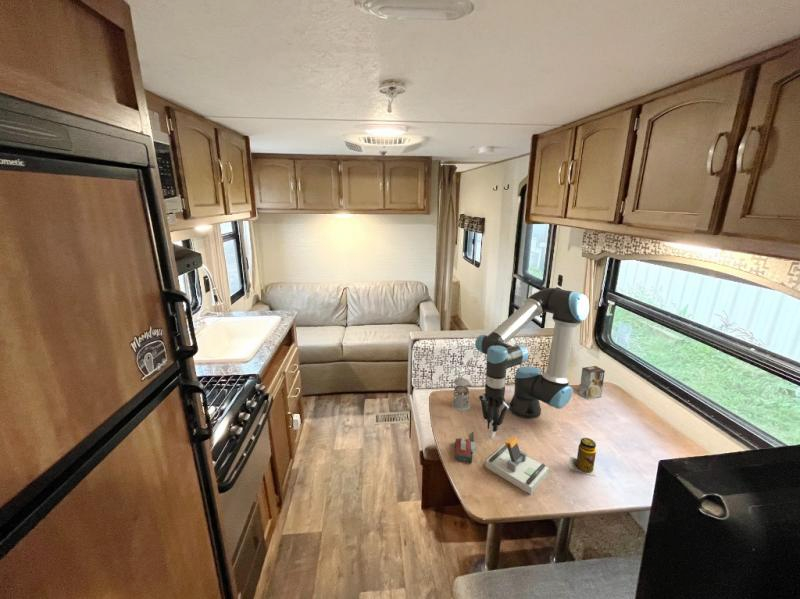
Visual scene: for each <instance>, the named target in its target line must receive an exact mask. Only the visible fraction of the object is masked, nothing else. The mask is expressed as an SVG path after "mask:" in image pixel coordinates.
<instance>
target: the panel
mask: <svg viewBox="0 0 800 599" xmlns="http://www.w3.org/2000/svg"><path fill="white" fill-rule="evenodd" d="M520 454H521V455H522V456H523V460H522V461H521V462H520V463H519V464H518V465H517V464H516V463H514V462H512V461H511V458H510V455H509V451H508V448H507V447H506V445H505V444H503V445H502V446H500V448H498V449H497V450H496V451H494V453H493V454H491V455H490V457H488V458H487V459H486V460H485V468H486V469H488V470H490V471H491V472H493V473H494V474H496V475H498V476H499V477H501V478H503V479H504V480H506V481H508V482H509V483H511V484H513V485H514V486H515V487H516V486H517V488H519V489H521V490H523V491H525V493H528V494H529V495H532V494H533V493H534V492H535V490H536V489H537V488H538V487H539V486H540V484H541V483H542V482H543V481H544V480H545V479H546V477H547V476H548V475H549V469H550V468H549V467H548V466H546V465H545V463H540V462H538V461H536V460H535V459H534V458H533V459H532V458H531V457H529V456H527V455H528V454H527V453H525V452H523V451H522V450H520ZM516 465H517V466H516Z"/></svg>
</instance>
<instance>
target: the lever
mask: <svg viewBox="0 0 800 599" xmlns="http://www.w3.org/2000/svg"><path fill="white" fill-rule="evenodd" d="M518 443H519V441H518V437H517V436H510V437H508V439H507V440H506V441H504V445H506V447H507V448H508V451H509V455H510V458H511V461H512V462H514V463H516V464H517V465H518V464H519V463H520V462H521V461H522V460H523V456H522V455H521V454H520V451H521V450H520V448H519V444H518ZM517 465H516V466H517Z"/></svg>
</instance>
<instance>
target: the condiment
mask: <svg viewBox="0 0 800 599" xmlns="http://www.w3.org/2000/svg"><path fill="white" fill-rule="evenodd" d="M596 446H597V443H596V442H595V441H594V440H593V439H591V438H588V437H582V438H581V439H580V443H579V445H578V448H577V456H576V458H575V457H573V456H570V462H569V469H571V470H574V471H578V472H580V473H583V474H586V475H590V476H593V477H595V461H596V460H595V459H596V453H597V449H596Z"/></svg>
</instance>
